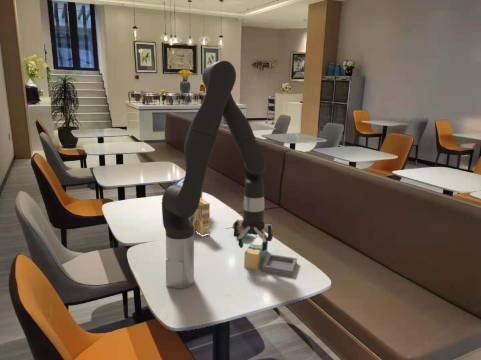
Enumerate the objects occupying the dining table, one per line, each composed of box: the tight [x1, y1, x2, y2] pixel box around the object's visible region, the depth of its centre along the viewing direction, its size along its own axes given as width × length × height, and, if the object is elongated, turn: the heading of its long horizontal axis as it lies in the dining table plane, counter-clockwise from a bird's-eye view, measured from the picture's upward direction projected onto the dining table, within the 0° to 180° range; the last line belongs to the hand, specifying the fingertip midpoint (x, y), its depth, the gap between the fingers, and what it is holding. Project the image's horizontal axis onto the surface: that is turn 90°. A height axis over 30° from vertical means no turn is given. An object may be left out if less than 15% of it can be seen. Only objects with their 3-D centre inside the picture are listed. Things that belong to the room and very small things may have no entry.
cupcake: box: [232, 219, 249, 238], centre depth 167 cm, size 9×8×12 cm
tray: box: [261, 253, 298, 277], centre depth 140 cm, size 11×11×2 cm
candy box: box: [192, 198, 211, 235], centre depth 168 cm, size 9×4×15 cm, turn 33°
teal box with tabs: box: [247, 235, 269, 264], centre depth 148 cm, size 12×5×6 cm, turn 163°
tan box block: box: [243, 247, 261, 270], centre depth 140 cm, size 4×5×6 cm
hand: (252, 248), depth 140 cm, fingers open, 8 cm apart
